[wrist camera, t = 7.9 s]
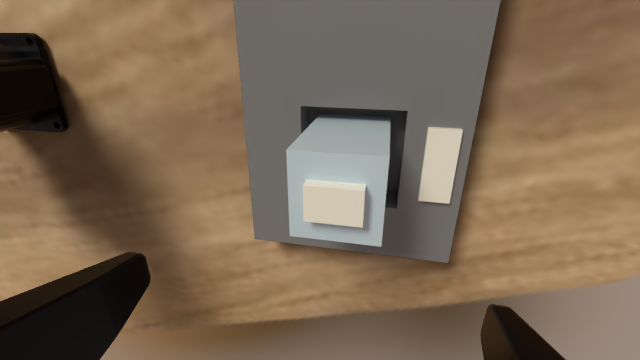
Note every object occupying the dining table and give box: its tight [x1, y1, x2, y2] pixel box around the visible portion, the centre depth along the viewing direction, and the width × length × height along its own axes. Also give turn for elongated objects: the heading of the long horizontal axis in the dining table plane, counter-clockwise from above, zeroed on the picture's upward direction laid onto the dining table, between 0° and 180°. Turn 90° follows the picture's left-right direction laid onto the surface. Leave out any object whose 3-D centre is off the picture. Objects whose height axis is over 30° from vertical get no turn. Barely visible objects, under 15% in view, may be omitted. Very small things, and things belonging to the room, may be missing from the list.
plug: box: [286, 113, 391, 247], centre depth 16 cm, size 4×4×8 cm
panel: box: [233, 0, 501, 263], centre depth 16 cm, size 12×24×3 cm, turn 0°
